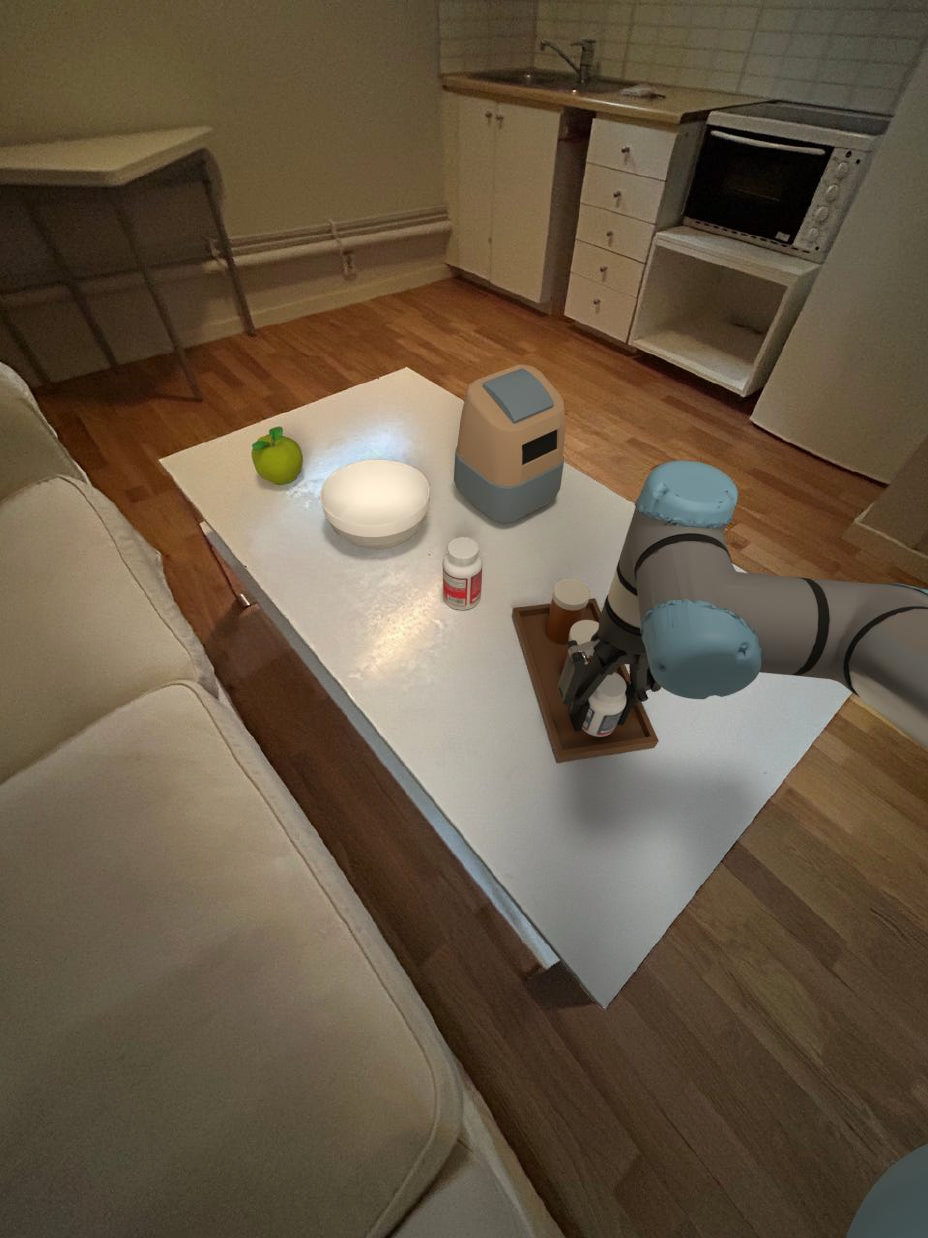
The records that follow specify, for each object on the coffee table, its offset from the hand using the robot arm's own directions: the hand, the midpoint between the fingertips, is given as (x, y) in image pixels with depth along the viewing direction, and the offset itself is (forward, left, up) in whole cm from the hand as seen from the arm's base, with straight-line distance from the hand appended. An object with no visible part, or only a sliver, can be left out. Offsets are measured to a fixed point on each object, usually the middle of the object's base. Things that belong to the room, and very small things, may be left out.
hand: (596, 719), depth 73 cm
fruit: (+63, +44, -1) cm, 77 cm away
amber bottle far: (+16, 0, -1) cm, 16 cm away
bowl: (+45, +26, -1) cm, 52 cm away
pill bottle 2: (0, 0, 0) cm, 0 cm away
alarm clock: (+51, +1, -1) cm, 51 cm away
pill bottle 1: (+26, +14, -1) cm, 30 cm away
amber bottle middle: (+8, 0, -1) cm, 8 cm away
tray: (+8, 0, -1) cm, 8 cm away
